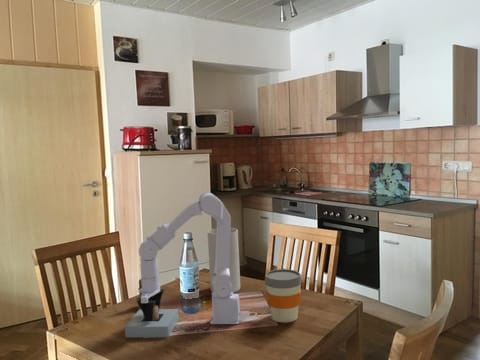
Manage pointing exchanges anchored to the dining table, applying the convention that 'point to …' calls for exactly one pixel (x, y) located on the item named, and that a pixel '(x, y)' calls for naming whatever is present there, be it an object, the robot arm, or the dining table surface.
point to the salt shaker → (139, 293)
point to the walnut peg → (155, 313)
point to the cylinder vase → (233, 258)
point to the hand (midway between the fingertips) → (152, 316)
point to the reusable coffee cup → (283, 294)
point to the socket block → (152, 324)
